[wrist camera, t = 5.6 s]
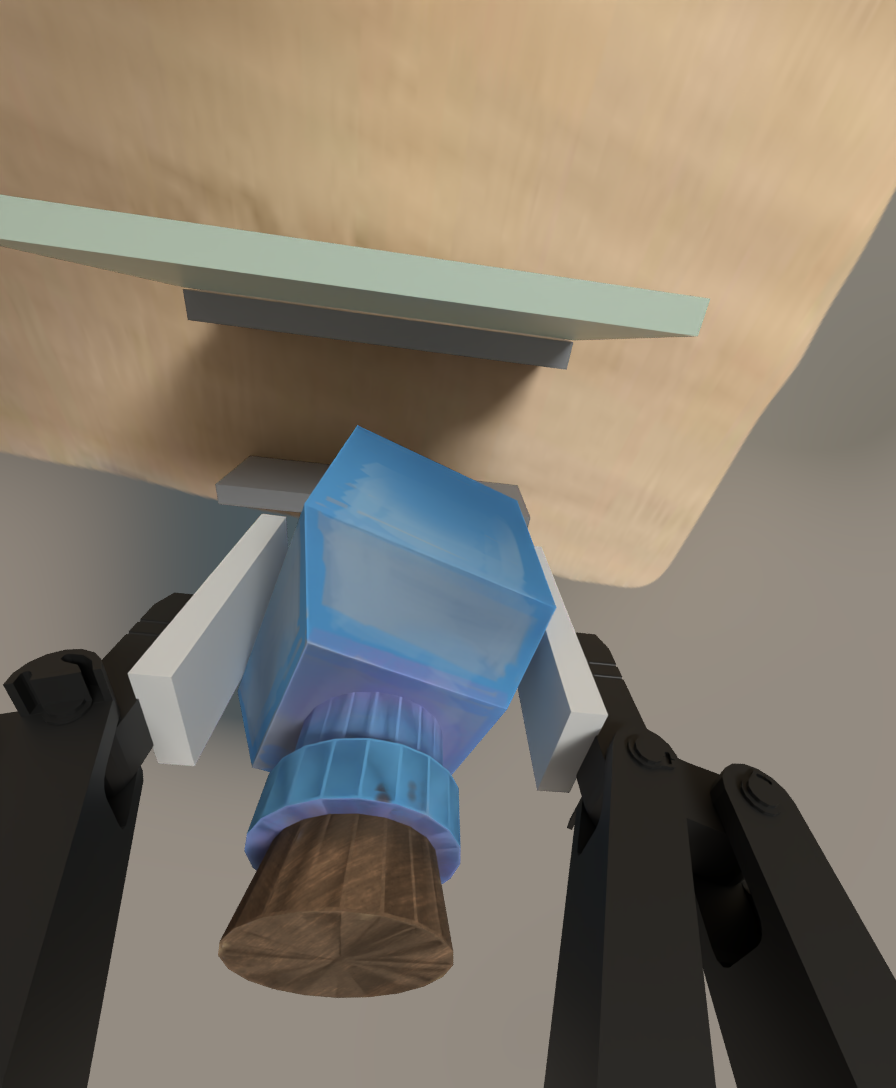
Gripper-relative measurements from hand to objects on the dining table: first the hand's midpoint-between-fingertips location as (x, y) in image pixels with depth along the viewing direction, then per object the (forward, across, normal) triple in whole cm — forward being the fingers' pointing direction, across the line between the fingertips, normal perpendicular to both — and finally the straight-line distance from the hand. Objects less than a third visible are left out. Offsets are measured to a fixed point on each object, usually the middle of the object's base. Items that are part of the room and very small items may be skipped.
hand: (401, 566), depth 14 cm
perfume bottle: (+2, 0, 0) cm, 2 cm away
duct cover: (+9, -3, +7) cm, 12 cm away
